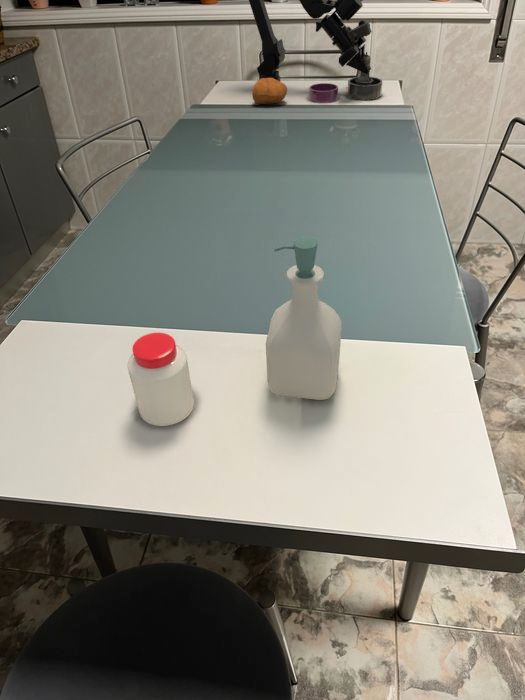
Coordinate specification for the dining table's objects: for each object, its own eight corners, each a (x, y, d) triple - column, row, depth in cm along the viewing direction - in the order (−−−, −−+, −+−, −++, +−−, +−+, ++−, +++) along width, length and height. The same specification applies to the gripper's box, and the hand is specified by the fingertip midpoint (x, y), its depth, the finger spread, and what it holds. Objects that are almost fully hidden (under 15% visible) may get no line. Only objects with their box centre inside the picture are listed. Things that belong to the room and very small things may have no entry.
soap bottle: (276, 356, 85) (273, 220, 70) (339, 362, 83) (349, 224, 69) (265, 400, 78) (258, 259, 63) (333, 407, 76) (342, 264, 62)
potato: (256, 98, 188) (255, 74, 183) (289, 99, 186) (289, 75, 181) (250, 107, 181) (249, 82, 176) (284, 107, 179) (284, 83, 174)
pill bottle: (198, 387, 80) (189, 327, 73) (188, 427, 74) (176, 366, 67) (146, 385, 81) (132, 326, 74) (132, 424, 75) (115, 364, 68)
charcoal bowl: (342, 98, 184) (343, 84, 181) (352, 89, 192) (353, 75, 189) (375, 101, 180) (377, 87, 177) (384, 92, 188) (386, 77, 185)
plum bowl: (304, 101, 183) (304, 90, 181) (314, 93, 190) (314, 82, 188) (332, 103, 180) (332, 92, 178) (341, 95, 187) (342, 84, 185)
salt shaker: (352, 89, 187) (355, 50, 180) (369, 88, 188) (373, 49, 180) (356, 94, 183) (359, 54, 175) (373, 93, 183) (377, 53, 175)
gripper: (351, 17, 165) (384, 60, 169) (362, 6, 178) (392, 46, 183) (324, 46, 172) (357, 86, 176) (336, 33, 185) (366, 71, 190)
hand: (369, 71), depth 181 cm, fingers closed on salt shaker, 3 cm apart
